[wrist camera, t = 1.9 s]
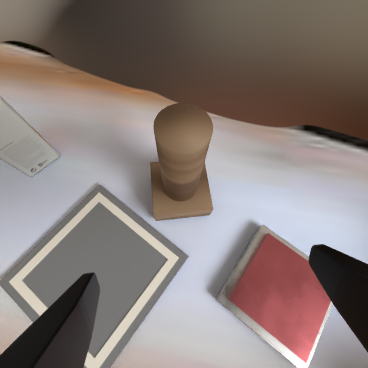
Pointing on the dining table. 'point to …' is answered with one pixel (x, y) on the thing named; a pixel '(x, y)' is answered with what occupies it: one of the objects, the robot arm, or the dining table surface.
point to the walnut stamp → (181, 163)
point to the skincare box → (22, 143)
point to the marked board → (99, 270)
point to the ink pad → (278, 296)
